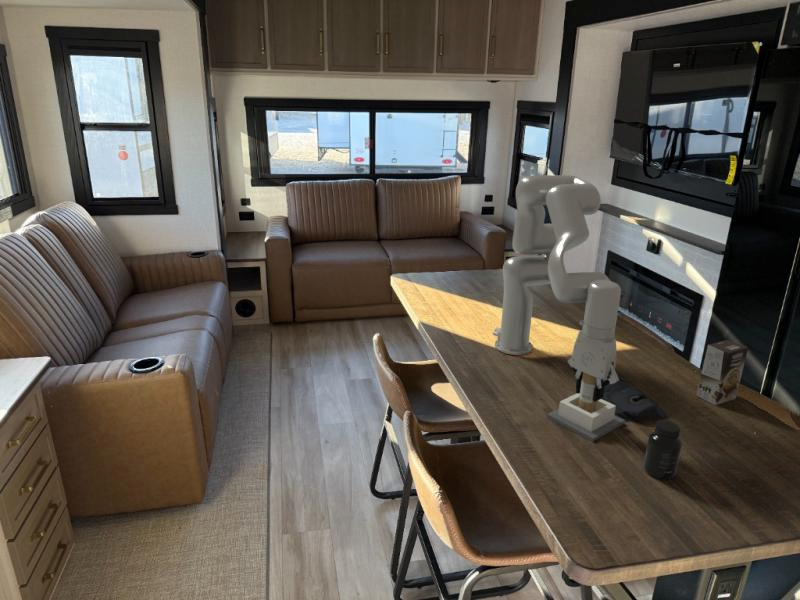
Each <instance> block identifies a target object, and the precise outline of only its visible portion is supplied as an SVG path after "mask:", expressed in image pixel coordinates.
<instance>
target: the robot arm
mask: <svg viewBox="0 0 800 600" xmlns="http://www.w3.org/2000/svg"><path fill="white" fill-rule="evenodd" d="M601 201H602V200H601V195H600V192H599V190H598V188H597V187H596V186H595V185H593V184H592V183H590V182H589V181H587V180H585V179H582V178H581V177H578V176H577V175H576V176H575V175H570V174H569V175H566V174H565V175H561V174H560V175H554V174H553V175H549V174H547V175H545V174H541V175H539V174H537V175H529V176H528V175H527V176H524V177H522V178H521V179H520V180H519V181H518V182H517V185H516V187H515V202H516V217H515V222H514V228H513V233H512V249H513V251H514V253H516V254H518V256H512V257H509V258H507V259H506V260H505V261H504V263H503V266H502V278H503V301H502V310H501V311H502V312H501V324H500V328H499V327H496V328H495V329H494V331H493V332H492V335H493V336H496V337H497V339H496V340H495V342H494V347H495V348H496V350H498V351H499V352H501V353H504V354H508V355H512V356H513V355H514V356H522V355H528V354H530V353H532V352H533V350H534V345H533V344H532V342H530V334H531V333H530V332H531V325H532V316H533V315H532V314H533V304H534V299H533V295H532V294H531V292H530V291H529V289H528V287H531V286H542V285H543V286H544V285H550V286H551V290H552V292H553V296H555V298H556V300H558V302H561V303H565V304H569V303H570V304H572V303H582V302H583V303H585V308H584V309H585V310H584V317H583V319H580V320H579V323H578V324H579V325H580V326H581V327H582V328H581V330H579V331H578V334H577V337H576V339H575V341H574V345H573V348H572V349H573V350H572V354H571V357H570V358H569V359H567V363H568V364H569V366H570V368H571V369H572V370H573V372H574V374H575V375H574V377H575V379H576V382H575V383H576V384H575V388H576V389H575V394H579V393H580V389H581V381H582V376H583V372H584V373H586V374H588V375H590V376H593V377H595V378H596V379H597V386H596V387H595V388H594V394H593V401H594V402H596V401H598V400H600V399H602V398H603V395H604V388H605V386H607V385H609V384H613V383H616V382H618V381H619V379H618V377H619V376H618V373H617V372H616V370H615V369H616V364H617V363H616V361H617V339H616V338H615V332H616V325H617V319H618V312H619V307H620V302H621V301H620V300H621V295H622V289H621V286H620V285H619V284H618V283H616V282H615V281H611V279H610V278H609V277H608V276H607V275H606V274H605V273H603V272H600V271H585V272H583V271H581V272H567V271H566V267H565V262H564V255H565V253H566V252H568V251H570V250H572V249H574V248H577V247H578V246H580V245H581V244H583V243H584V242H586V241H587V240H588V239H589V236H590V230H589V227H588V224H587V221H586V218H585V216H591V215H594V214H596V213H597V212H598V211H599V209H600V207H601ZM544 206H546V207H547V210H548V214H549V217H550V222H551V223H545V218H546V210H545V207H544ZM519 255H520V256H519ZM607 376H610V379H607Z"/></svg>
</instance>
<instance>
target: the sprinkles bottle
mask: <svg viewBox="0 0 800 600" xmlns="http://www.w3.org/2000/svg"><path fill="white" fill-rule="evenodd" d="M596 386H597V379H596V378H595V377H593V376H590V375H588V374H586V373H584V372H583V376H582V381H581V389H580V396H579V405H578V407H579V408H581V409H583V410H585V411H587V412H589V413H591V414H592V413H594V412H595V411H596V402H597V401H596V402H594V401H593V394H594V388H595V387H596Z"/></svg>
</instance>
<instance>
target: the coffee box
mask: <svg viewBox="0 0 800 600" xmlns="http://www.w3.org/2000/svg"><path fill="white" fill-rule="evenodd" d="M748 350H749V347H748V346H747V345H743V344H741V343H737V342H734V341H731V340H729V339H726V340H722V341H718V342H714V343H710V344H707V348H706V352H705V356H704V357H705V358H704V360H703V365H702V370H701V375H700V378H699V382H698V386H697V390H696V397H698V398H701V399H702V400H704V401H706V402H708V403H710V404H712V405H714V406H718V405H720V404H724V403H727V402H731V401H733V400H736V398H737V394H738V391H739V387H740V382H741V379H742V374H743V370H744V366H745V362H746V359H747V355H748Z"/></svg>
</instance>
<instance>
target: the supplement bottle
mask: <svg viewBox="0 0 800 600" xmlns="http://www.w3.org/2000/svg"><path fill="white" fill-rule="evenodd" d="M680 432H681V427H680V426H679V425H678V424H677V423H675V422H674V421H670V420H665V419H664V420H662V419H661V420H658V421H656V425H655V428H654V430H653V431H651V432H650V433H649V435H648V438H647V445H646V450H645V455H644V459H643V469H644V471H645V472H646V473H647V475H648V476H649V475H650V476H651V477H653V478H655V479H658V480H663V481H664V480H665V481H667V480H672V479H673V478H675V476H676V474H677V469H678V465H679V462H680V461H679V460H680V456H681V453H682V445H683V443H682V440H681V438H680Z"/></svg>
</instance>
